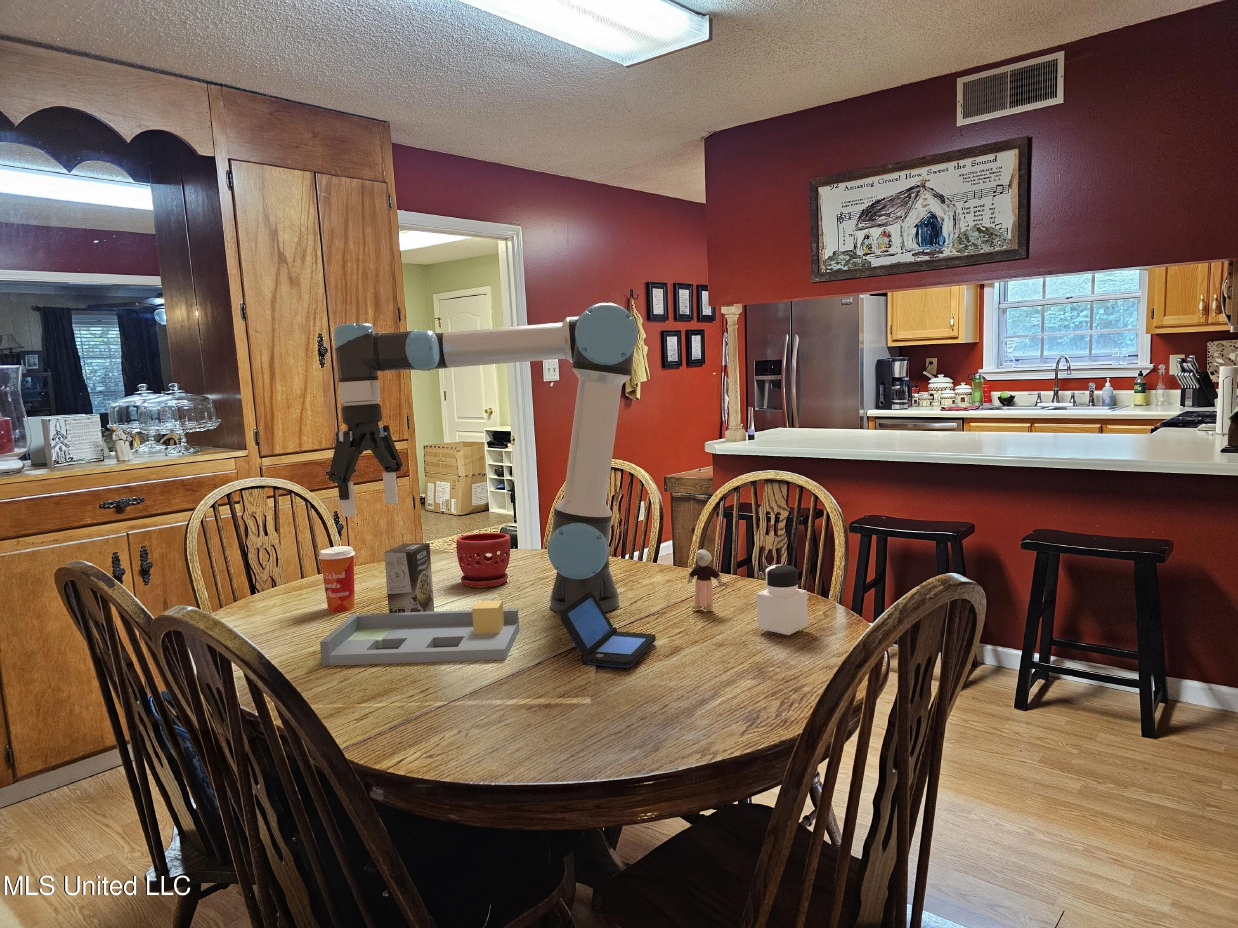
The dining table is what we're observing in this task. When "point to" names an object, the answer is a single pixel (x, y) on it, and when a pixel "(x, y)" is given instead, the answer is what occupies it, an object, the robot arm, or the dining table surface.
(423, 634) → the trap deck
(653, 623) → the dining table surface
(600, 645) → the handheld game console
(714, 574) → the grandmother figurine
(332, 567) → the paper cup
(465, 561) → the plant pot
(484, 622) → the block
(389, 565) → the coffee box
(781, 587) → the medicine bottle
